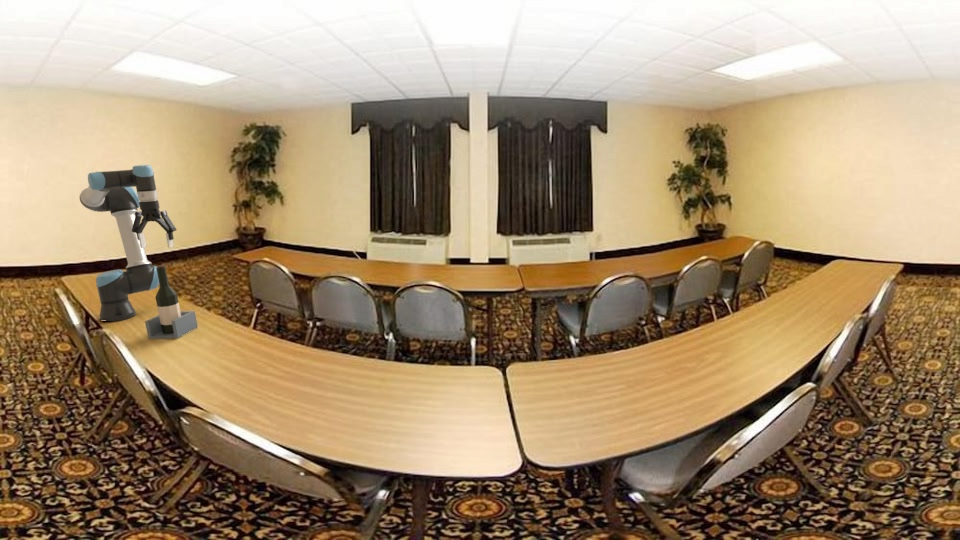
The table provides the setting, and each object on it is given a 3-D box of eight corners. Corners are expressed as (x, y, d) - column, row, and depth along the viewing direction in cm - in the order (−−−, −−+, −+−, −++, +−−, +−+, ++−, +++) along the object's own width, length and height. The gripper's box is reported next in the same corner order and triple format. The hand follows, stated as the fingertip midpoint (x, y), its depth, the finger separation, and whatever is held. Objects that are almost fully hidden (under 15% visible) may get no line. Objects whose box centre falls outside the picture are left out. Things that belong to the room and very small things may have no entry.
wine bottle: (174, 334, 240) (161, 267, 233) (158, 334, 242) (144, 267, 235) (187, 327, 248) (175, 263, 241) (172, 327, 250) (159, 263, 243)
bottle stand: (169, 328, 253) (166, 311, 251) (197, 327, 251) (194, 310, 249) (148, 338, 239) (144, 321, 237) (178, 338, 237) (174, 321, 236)
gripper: (116, 202, 242) (126, 249, 248) (168, 201, 239) (176, 248, 244) (129, 199, 249) (138, 245, 255) (179, 198, 246) (187, 245, 251)
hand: (157, 247), depth 249 cm, fingers open, 13 cm apart
